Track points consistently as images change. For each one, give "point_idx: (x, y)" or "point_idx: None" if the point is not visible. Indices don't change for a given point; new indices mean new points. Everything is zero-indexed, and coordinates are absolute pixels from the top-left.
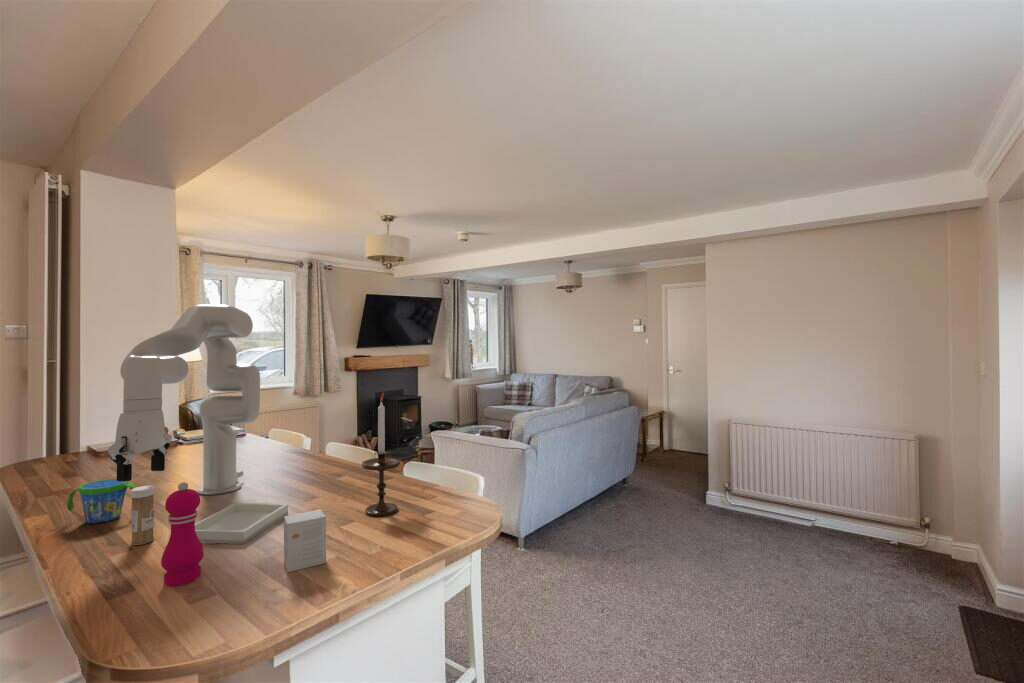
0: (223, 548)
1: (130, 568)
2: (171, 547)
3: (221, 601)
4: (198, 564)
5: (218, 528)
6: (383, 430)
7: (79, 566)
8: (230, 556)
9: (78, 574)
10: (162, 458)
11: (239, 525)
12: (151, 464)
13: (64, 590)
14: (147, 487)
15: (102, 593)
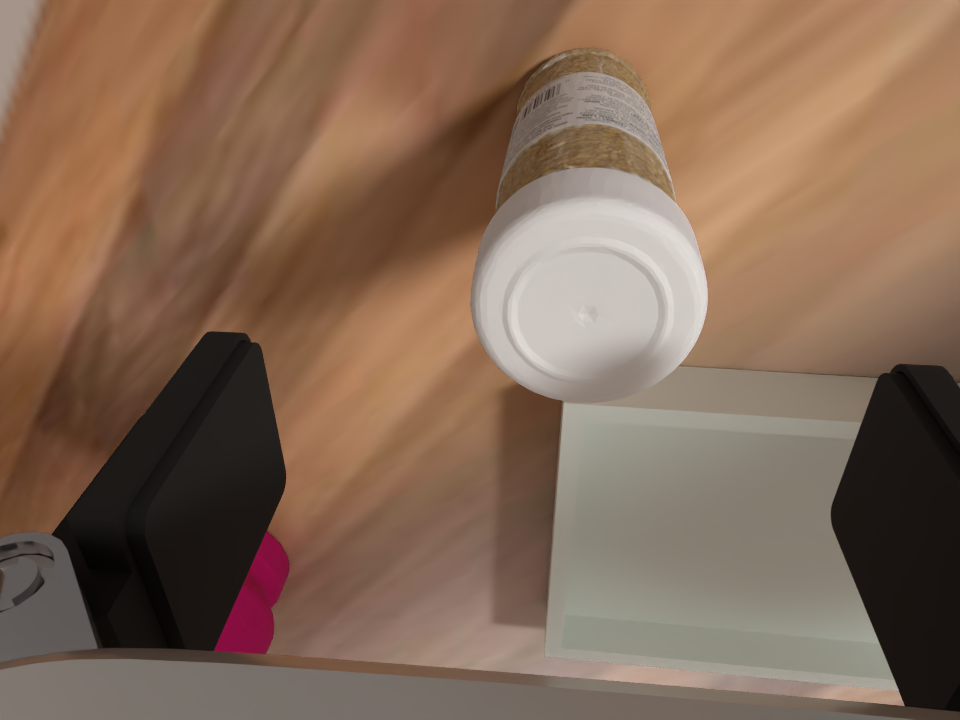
0: (501, 558)
1: (254, 320)
2: None
3: None
4: (271, 603)
5: (714, 472)
6: None
7: (200, 6)
8: (427, 607)
9: (129, 107)
10: (910, 695)
11: (748, 543)
12: (927, 444)
13: (2, 197)
14: (601, 356)
15: (56, 374)
